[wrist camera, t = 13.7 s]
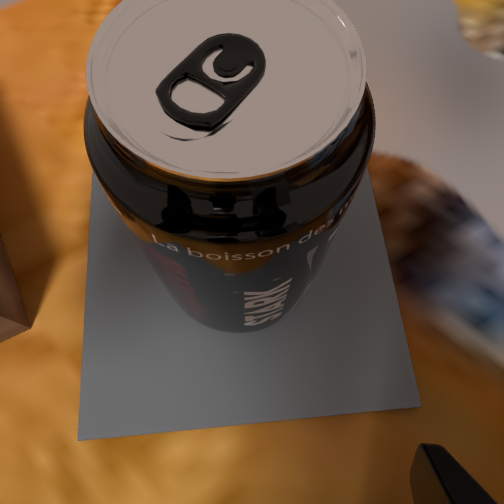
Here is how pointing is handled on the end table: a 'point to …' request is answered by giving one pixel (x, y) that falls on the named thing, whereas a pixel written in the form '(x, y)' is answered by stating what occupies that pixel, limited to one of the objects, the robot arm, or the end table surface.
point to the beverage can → (230, 145)
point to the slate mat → (239, 341)
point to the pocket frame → (10, 301)
